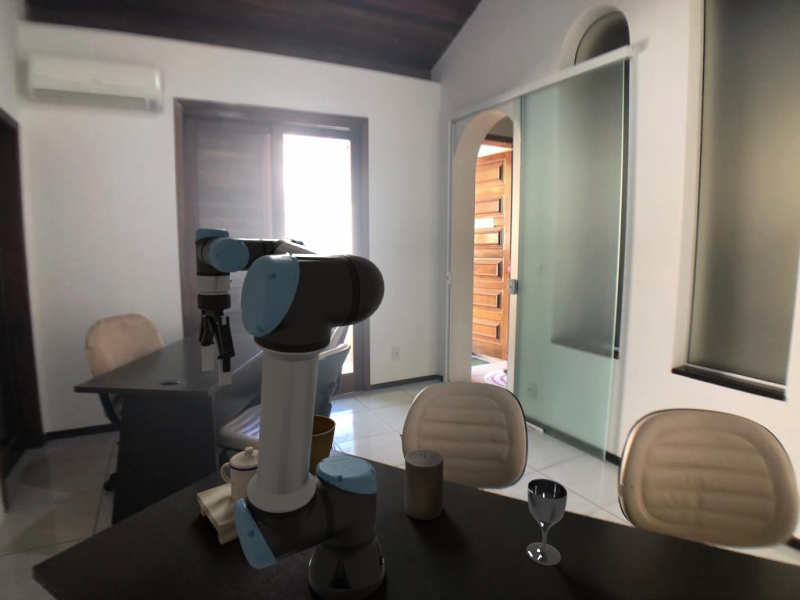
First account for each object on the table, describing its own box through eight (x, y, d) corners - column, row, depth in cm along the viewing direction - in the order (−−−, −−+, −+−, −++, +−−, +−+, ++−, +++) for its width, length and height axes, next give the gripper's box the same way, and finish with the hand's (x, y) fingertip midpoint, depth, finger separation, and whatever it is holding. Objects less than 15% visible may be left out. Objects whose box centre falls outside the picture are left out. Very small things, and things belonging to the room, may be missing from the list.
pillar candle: (449, 515, 106) (451, 457, 105) (414, 524, 102) (415, 464, 101) (430, 495, 115) (432, 441, 114) (397, 503, 111) (398, 447, 109)
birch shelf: (295, 514, 105) (295, 495, 105) (219, 547, 94) (219, 525, 93) (267, 487, 117) (267, 469, 117) (197, 512, 106) (196, 493, 105)
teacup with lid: (275, 485, 109) (274, 441, 108) (258, 506, 100) (257, 458, 99) (231, 480, 111) (230, 437, 110) (211, 501, 102) (209, 454, 101)
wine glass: (537, 570, 88) (541, 501, 87) (517, 544, 96) (520, 481, 94) (571, 563, 90) (575, 496, 89) (548, 538, 98) (552, 476, 96)
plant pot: (299, 499, 112) (298, 440, 110) (272, 477, 123) (271, 423, 121) (346, 479, 122) (346, 425, 120) (318, 460, 133) (317, 410, 131)
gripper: (248, 297, 98) (250, 387, 100) (214, 287, 117) (216, 363, 119) (214, 299, 93) (216, 394, 96) (183, 288, 112) (186, 367, 115)
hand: (216, 377), depth 107 cm, fingers open, 13 cm apart
